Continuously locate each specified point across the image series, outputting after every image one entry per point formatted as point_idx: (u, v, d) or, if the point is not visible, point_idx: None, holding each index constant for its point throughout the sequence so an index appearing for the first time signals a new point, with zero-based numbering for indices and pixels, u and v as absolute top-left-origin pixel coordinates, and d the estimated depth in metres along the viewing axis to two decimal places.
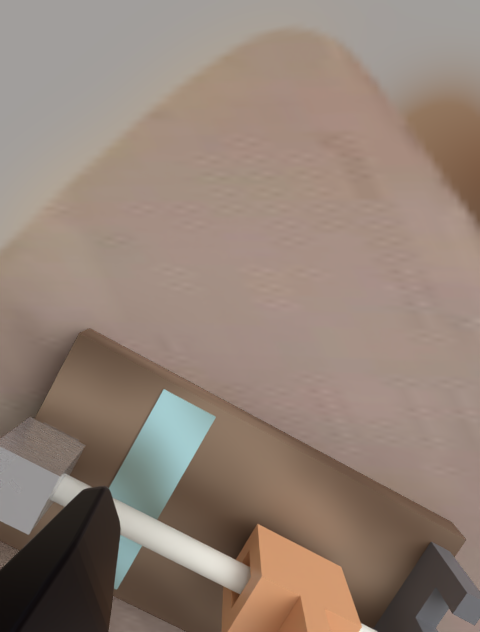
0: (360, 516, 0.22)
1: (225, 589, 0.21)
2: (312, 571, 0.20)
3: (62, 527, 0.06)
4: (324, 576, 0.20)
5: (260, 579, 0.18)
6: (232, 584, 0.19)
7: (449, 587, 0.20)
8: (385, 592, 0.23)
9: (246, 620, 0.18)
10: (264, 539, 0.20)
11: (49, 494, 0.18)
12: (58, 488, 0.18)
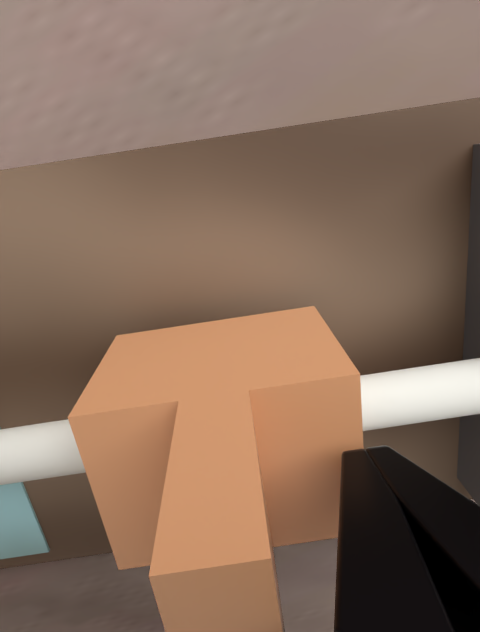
0: (307, 195, 0.10)
1: None
2: (235, 343, 0.09)
3: (365, 484, 0.06)
4: (264, 337, 0.09)
5: (70, 425, 0.07)
6: None
7: None
8: (445, 295, 0.11)
9: (124, 510, 0.08)
10: (125, 351, 0.10)
11: None
12: None
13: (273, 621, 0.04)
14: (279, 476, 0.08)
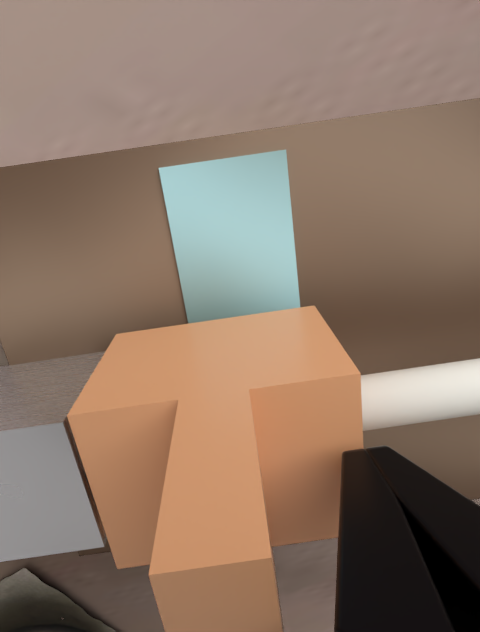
0: None
1: None
2: (235, 342, 0.09)
3: (365, 483, 0.06)
4: (264, 336, 0.09)
5: (70, 423, 0.07)
6: None
7: None
8: None
9: (123, 509, 0.08)
10: (124, 349, 0.10)
11: (76, 464, 0.08)
12: None
13: (273, 621, 0.04)
14: (279, 476, 0.08)
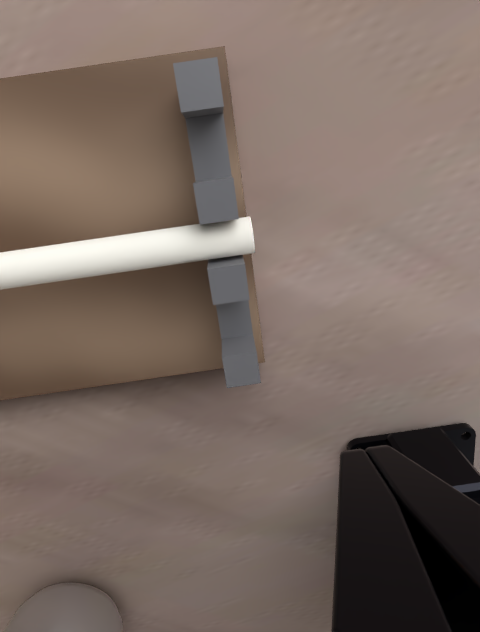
0: (71, 121, 0.15)
1: None
2: None
3: (363, 484, 0.06)
4: None
5: None
6: None
7: None
8: (186, 199, 0.16)
9: None
10: None
11: None
12: None
13: None
14: None
